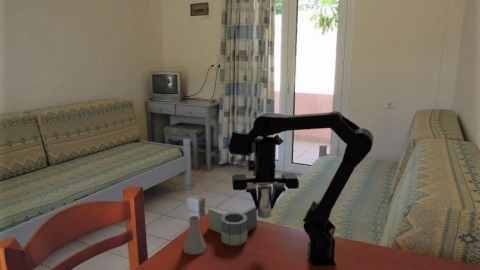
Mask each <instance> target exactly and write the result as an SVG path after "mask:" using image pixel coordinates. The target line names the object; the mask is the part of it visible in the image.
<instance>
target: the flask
mask: <svg viewBox="0 0 480 270" xmlns="http://www.w3.org/2000/svg"><path fill="white" fill-rule="evenodd" d="M199 220H200V216H198V215H191V216H189V217H188V222H189V226H188V232H187V235H186V238H185V241H184V243H183V246H182V250H183V253H184V254H186V255H190V256H191V255H192V256H194V255H201V254H204V252H205V251H206V250H207V249H208V246H207V244H206V242H205V239H204V238H203V237H204V236H203V235H202V232H201V229H200V226H199V225H200V224H199Z"/></svg>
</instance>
